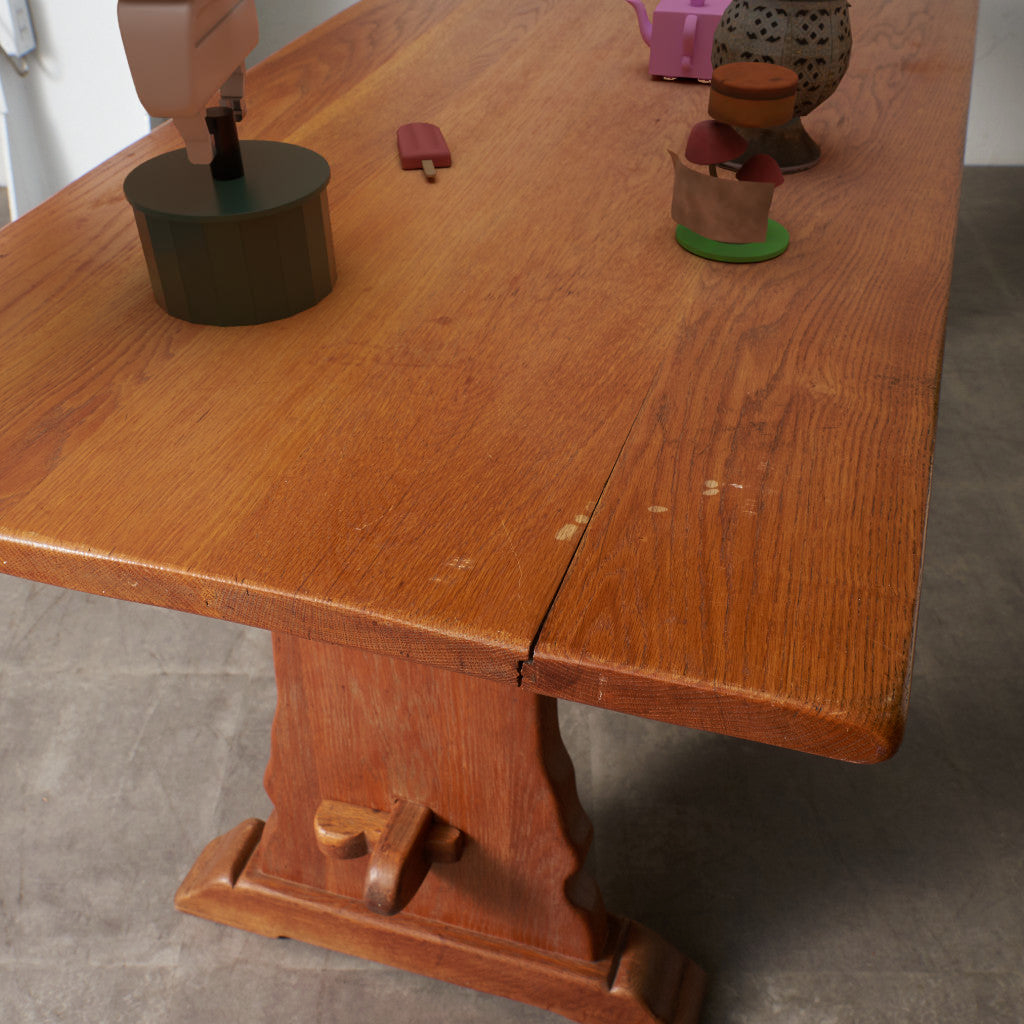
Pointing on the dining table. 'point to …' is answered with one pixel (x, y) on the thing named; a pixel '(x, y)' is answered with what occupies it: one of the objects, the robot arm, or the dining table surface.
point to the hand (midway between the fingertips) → (220, 139)
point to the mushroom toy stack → (744, 203)
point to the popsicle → (422, 147)
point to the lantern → (787, 66)
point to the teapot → (680, 36)
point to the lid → (227, 178)
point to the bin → (241, 265)
